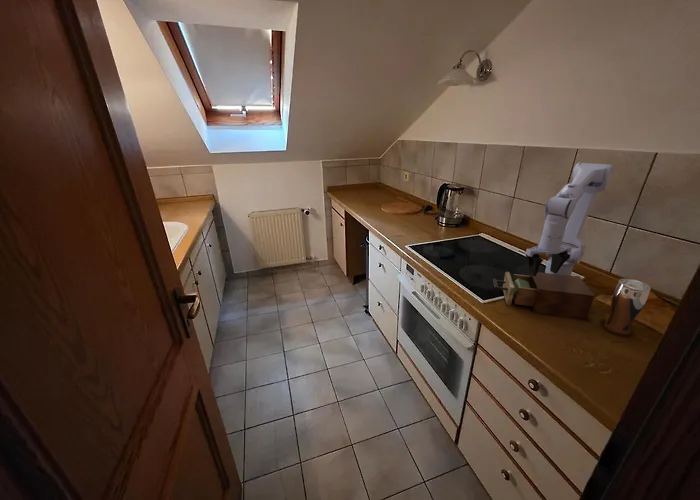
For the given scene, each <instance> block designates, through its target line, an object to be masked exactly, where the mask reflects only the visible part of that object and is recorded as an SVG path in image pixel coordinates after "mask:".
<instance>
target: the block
mask: <svg viewBox="0 0 700 500" xmlns="http://www.w3.org/2000/svg"><path fill="white" fill-rule="evenodd" d="M513 284H514V287H515V288H514V293H513V294H514V295H517V290H518V287H526V288H530V286H529V282H528V281H525V280H521V279H517V280H515V281H514V282H513Z"/></svg>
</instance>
